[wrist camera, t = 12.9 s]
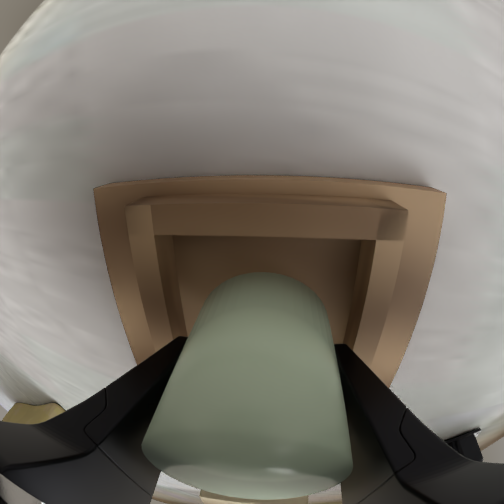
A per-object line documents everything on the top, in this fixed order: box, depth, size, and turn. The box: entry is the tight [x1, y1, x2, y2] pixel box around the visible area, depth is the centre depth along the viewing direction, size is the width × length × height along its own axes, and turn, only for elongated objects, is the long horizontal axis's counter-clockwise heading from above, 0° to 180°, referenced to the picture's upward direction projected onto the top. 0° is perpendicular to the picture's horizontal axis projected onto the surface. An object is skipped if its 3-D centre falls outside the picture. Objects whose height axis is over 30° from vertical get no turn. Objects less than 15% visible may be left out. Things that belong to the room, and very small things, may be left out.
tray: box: [93, 175, 447, 388], centre depth 13 cm, size 20×14×3 cm
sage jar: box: [141, 272, 353, 500], centre depth 7 cm, size 5×5×6 cm
